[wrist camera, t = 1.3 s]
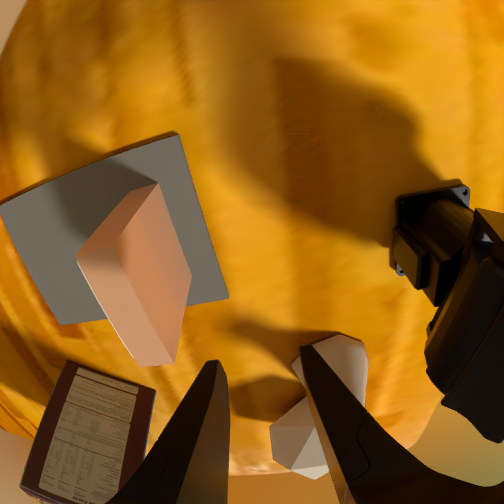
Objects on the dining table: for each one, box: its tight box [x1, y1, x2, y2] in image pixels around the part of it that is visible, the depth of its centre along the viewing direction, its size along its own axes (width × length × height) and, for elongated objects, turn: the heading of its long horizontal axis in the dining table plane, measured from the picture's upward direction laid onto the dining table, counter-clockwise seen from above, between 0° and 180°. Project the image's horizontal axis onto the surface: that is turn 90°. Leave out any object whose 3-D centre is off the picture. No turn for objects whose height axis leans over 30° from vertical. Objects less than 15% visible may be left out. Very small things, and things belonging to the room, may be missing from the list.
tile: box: [75, 183, 192, 367], centre depth 17 cm, size 2×7×8 cm, turn 12°
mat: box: [0, 134, 229, 325], centre depth 21 cm, size 16×12×1 cm
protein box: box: [19, 361, 156, 504], centre depth 25 cm, size 10×15×16 cm
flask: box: [291, 334, 368, 406], centre depth 24 cm, size 7×7×10 cm
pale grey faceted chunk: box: [269, 396, 329, 479], centre depth 29 cm, size 8×9×10 cm
